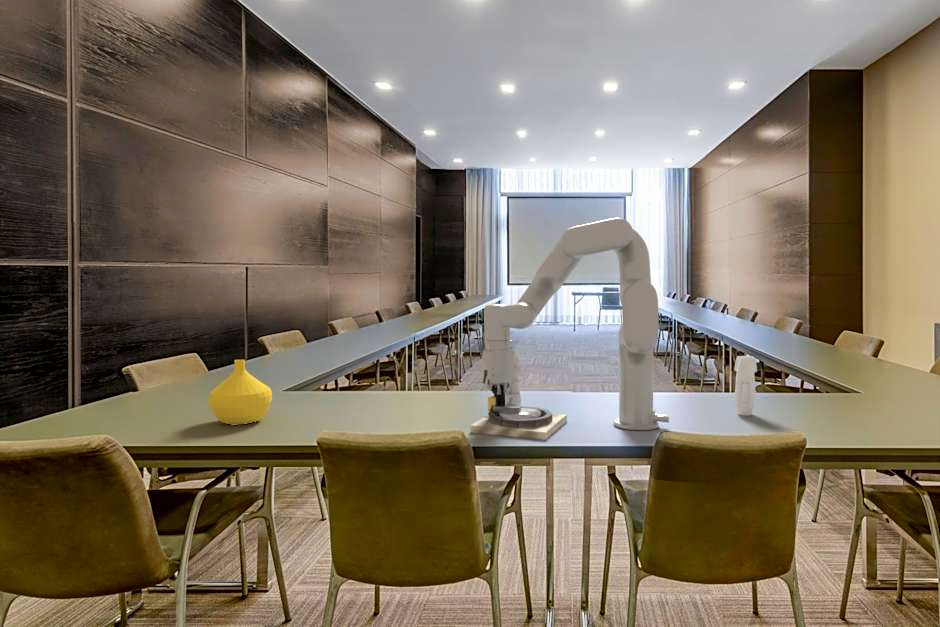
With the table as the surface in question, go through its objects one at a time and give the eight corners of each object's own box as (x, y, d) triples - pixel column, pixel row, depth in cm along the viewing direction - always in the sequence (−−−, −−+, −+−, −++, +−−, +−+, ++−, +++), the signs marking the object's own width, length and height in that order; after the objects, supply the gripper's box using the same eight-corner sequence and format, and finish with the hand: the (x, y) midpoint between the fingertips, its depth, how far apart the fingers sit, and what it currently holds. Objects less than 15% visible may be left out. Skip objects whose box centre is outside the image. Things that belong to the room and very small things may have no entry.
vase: (202, 430, 183) (199, 365, 182) (217, 416, 201) (215, 357, 200) (268, 427, 186) (265, 363, 184) (277, 413, 204) (275, 355, 202)
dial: (544, 415, 186) (544, 395, 186) (536, 425, 175) (536, 403, 175) (493, 412, 191) (493, 393, 191) (482, 421, 180) (481, 400, 179)
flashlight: (733, 411, 199) (732, 415, 193) (734, 354, 198) (733, 357, 192) (756, 412, 197) (756, 417, 190) (757, 355, 195) (757, 358, 189)
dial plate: (566, 421, 188) (566, 408, 188) (545, 439, 168) (545, 425, 168) (497, 415, 197) (497, 402, 197) (469, 432, 177) (469, 418, 177)
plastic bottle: (520, 410, 204) (519, 349, 203) (499, 409, 206) (498, 348, 204) (522, 405, 211) (521, 346, 209) (502, 405, 212) (501, 346, 211)
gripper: (507, 342, 194) (509, 401, 195) (470, 347, 185) (472, 409, 186) (524, 343, 188) (526, 404, 190) (487, 349, 179) (489, 412, 180)
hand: (499, 406), depth 188 cm, fingers closed
